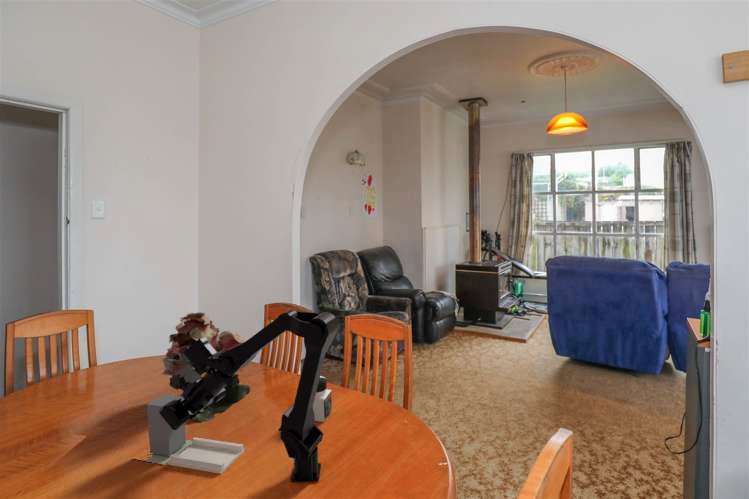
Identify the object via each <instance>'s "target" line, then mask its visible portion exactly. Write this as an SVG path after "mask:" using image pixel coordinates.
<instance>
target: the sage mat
mask: <svg viewBox="0 0 749 499" xmlns="http://www.w3.org/2000/svg"><path fill="white" fill-rule="evenodd" d="M189 445H190V446H191V445H192V439H191V440H189V439H186V444H185V445H183V446H182V447H181V448H179V449H178V450H177V451H175V452H174V453H173V454H176V455H179V454H180V452H181V453H182V452H183V451H184V449H185V450H186V449H187V448H188V447H189ZM146 452H147V453H148V451H146ZM149 455H152V458H151V456H150V457H147V458H149V459H147V460H143V459H142V461H148V462H152V463H151V464H154V463H157V464H156V465H159V464H161V465H160V466H166V465H167V464H169V462H170V456H171V455H172V454H171V455H170V456H167V455H161V454H155V453H153V454H148V455H147V456H149ZM135 459H136V458H135ZM142 461H141V462H142ZM148 462H147V463H148ZM166 463H167V464H166Z"/></svg>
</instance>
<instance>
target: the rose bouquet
mask: <svg viewBox="0 0 749 499" xmlns="http://www.w3.org/2000/svg"><path fill="white" fill-rule="evenodd" d="M179 321H180V323H179V324H177V325H176V326H175V330H176V331H177V333H173V334H172V333H171V334H170V335H169V336H168V338H169V339H168V343H169V344H171V347H169V348H168V349H166V351H167V353H166V354H165V357H162V358H163V359H162V363H163V365H164V369H163V372H161V375H165V376H171V377H172V376H173V375H174V374H175V372H177V371H179V370H181V369H183V368H185V367H188V368H190V369H192V370H193V371H195V372H197V371H196V370H195V369H194V368H193V366H192V365H191V364H190V363H189V362H188V360H187V359H186V358H185V357H184V356H183V355H182V353H183V352H184V350H185V349H186V348H188V347H190V346H191V345H192V344H193V343H195V342H197V340H198V339H200V338H202V337H205V338H206V339H207V340H208V342H209V344H210V345H211V346H212V347H213V348H214V349H215V351H216V352H217V353H218V352H220V351H222V350H224V349H231V348H233V347H235V346H236V345H239V344H241V343H243V342H245V339H243V338H241V337H240V335H239V334H238V333H237V332H232V331H230V330H224V331H221V332H220V328H219V327H218V328H217V327H216V326H215V323H213V320H211V319H210V316H209V315H207V314H206V313H205V312H201V311H200V312H191V313H186V315H185V316H183V317H180V320H179ZM219 332H220V333H219ZM209 369H210V368H208V369H207V370H206V371H204V372H203V371H202V370H200V371H199V372H197V373H198V374H199V375H200V376H201V377H202V375H205V374H206V373H207V372H208V371H209ZM240 372H244V370H243V369H241V370H240ZM224 389H225V390H226V395H225V396H224V397H223V398H222V399H220V400H219V401H217V402H215V399H216V397H215V398H214V399H213V402H212V403H211V404H209V405H208V408H207V409H206V410H205V411H203V412H202V413H200V414H197V416H196V417H194V418H193V419H192V420H194V421H198V422H199V423H204V422H207V421H210V420H213V419H214V418H217V414H219V415H220V414H223V413H224V412H225V411H227V410H228V409H230V408H231V407H232V406H233V404H234V403H236V402H238V401H240V400H241V399H244V397H245V396H246V395H247V394H248V392H250V391H251V387H250V386H249V385H248V384H245V383H242V384H240V383H239V384H237V385H236V386H234V387H233V388H232V389H230V388H229V387H228V386H227V385H226V386H225V387H224ZM183 393H184V391H182V393H181V394H180V395H181V397H183V398H184V400H185V399H186V398H185V397H184V396H183V395H182V394H183ZM215 415H216V416H215ZM203 421H204V422H203Z"/></svg>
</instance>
